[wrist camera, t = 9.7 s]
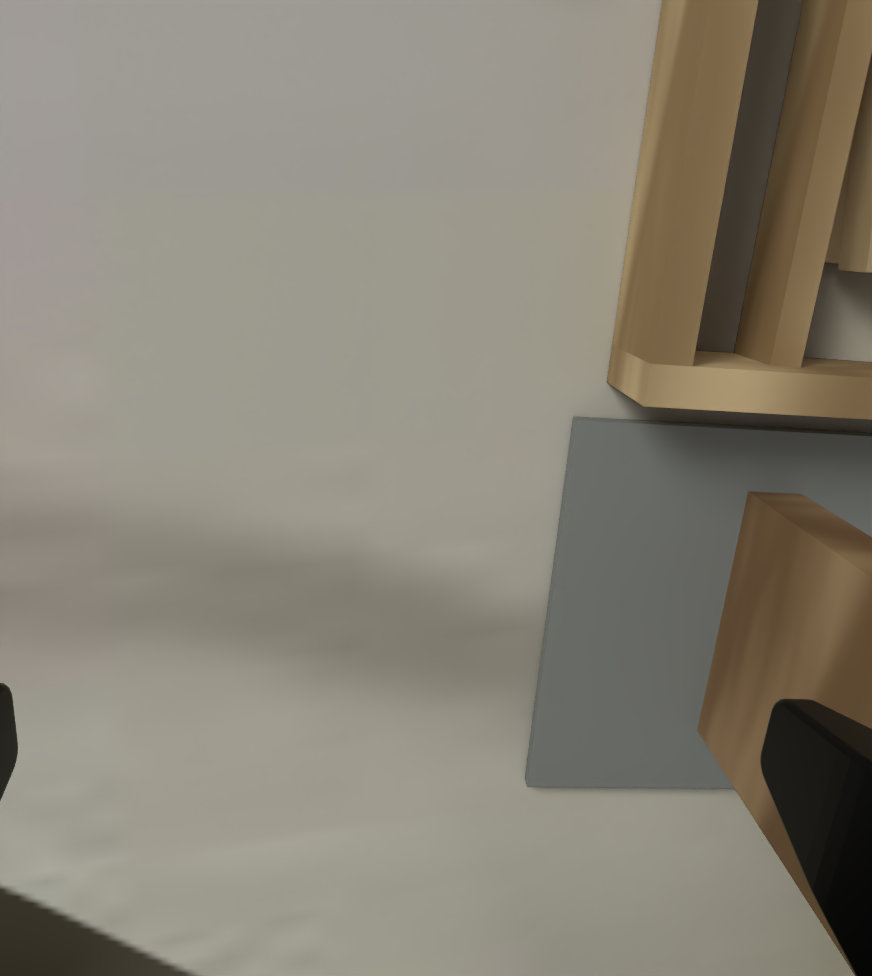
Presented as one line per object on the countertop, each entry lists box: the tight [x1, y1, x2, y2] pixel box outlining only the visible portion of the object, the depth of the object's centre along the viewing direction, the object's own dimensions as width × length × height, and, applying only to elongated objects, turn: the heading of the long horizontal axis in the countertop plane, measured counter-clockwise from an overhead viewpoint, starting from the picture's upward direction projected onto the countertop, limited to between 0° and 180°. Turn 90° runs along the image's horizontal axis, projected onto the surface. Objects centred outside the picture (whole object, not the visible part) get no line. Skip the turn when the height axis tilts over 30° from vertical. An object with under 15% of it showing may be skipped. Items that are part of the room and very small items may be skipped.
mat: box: [525, 417, 872, 789], centre depth 23 cm, size 12×12×1 cm
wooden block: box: [697, 491, 872, 976], centre depth 18 cm, size 2×8×10 cm, turn 176°
